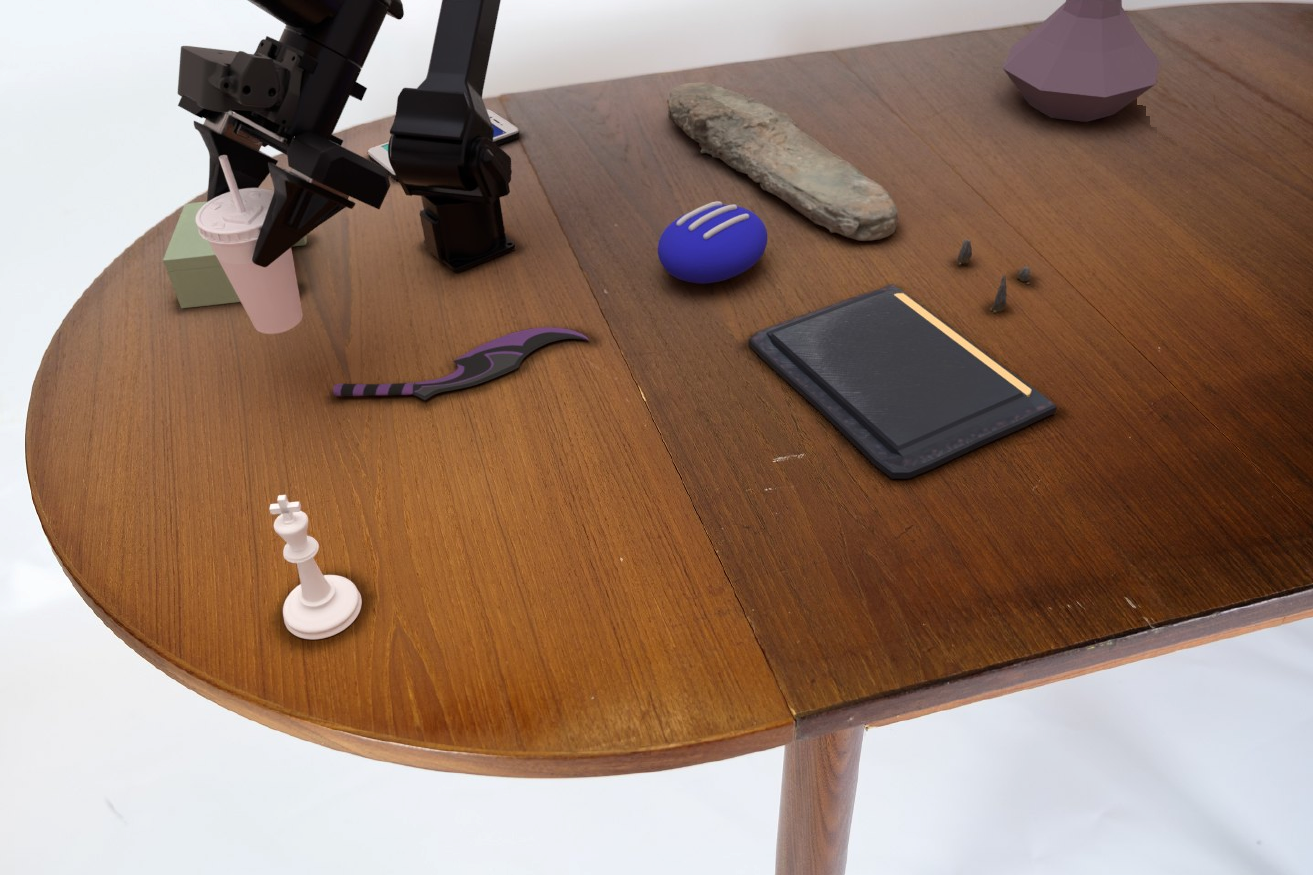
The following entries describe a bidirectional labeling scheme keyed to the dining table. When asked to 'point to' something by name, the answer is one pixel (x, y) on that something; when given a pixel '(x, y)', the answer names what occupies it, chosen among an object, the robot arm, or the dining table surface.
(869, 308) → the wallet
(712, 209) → the decorative object
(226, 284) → the green box
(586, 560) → the dining table surface
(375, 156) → the smartphone
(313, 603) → the chess piece
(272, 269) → the smoothie
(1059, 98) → the flask
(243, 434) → the dining table surface
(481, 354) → the knife
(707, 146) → the long grey stone
